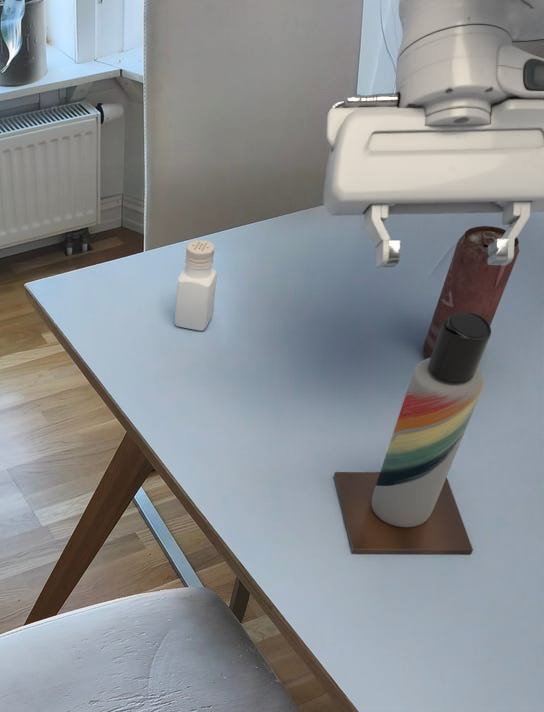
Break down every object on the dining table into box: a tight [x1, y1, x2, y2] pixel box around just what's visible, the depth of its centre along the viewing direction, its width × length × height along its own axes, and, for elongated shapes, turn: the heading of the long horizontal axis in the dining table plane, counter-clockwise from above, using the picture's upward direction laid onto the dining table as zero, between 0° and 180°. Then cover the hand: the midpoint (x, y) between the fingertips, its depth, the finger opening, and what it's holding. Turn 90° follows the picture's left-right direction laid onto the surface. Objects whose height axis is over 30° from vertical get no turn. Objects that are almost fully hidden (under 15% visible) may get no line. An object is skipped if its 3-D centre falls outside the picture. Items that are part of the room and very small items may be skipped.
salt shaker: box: [174, 239, 218, 332], centre depth 104 cm, size 4×4×10 cm
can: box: [422, 225, 520, 359], centre depth 96 cm, size 6×6×14 cm
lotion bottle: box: [372, 312, 492, 527], centre depth 77 cm, size 6×6×20 cm
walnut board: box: [333, 471, 474, 555], centre depth 85 cm, size 11×11×1 cm
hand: (443, 264), depth 75 cm, fingers open, 8 cm apart
